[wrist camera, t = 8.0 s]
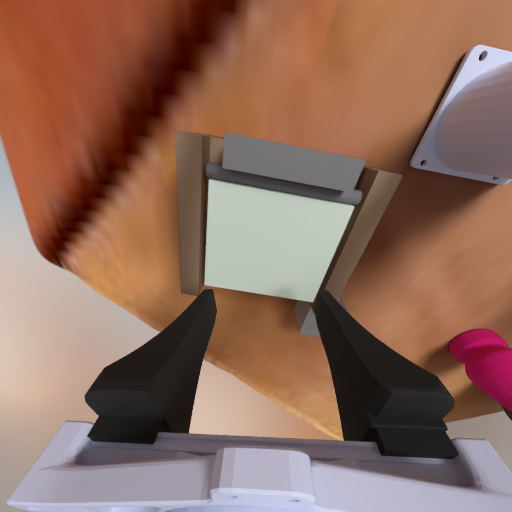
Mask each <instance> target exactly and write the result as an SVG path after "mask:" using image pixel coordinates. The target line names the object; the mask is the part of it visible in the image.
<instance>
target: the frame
mask: <svg viewBox="0 0 512 512" xmlns="http://www.w3.org/2000/svg"><path fill="white" fill-rule="evenodd" d="M175 137H176V165H177V192H178V219H179V247H180V274H181V293H184V294H190V295H196V296H199V294H200V291H201V289H202V287H203V284H204V282H205V259H206V244H205V220H206V194H207V176H206V167H207V163H208V162H212V163H217V164H223V151H224V138H222V137H217V136H212V135H207V134H199V133H190V132H182V131H175ZM402 177H403V175H400V174H396V173H391V172H387V171H383V170H379V169H375V168H371V167H367V166H363V168H362V171H361V173H360V176H359V178H358V181H357V183H356V185H355V188H354V190H359V191H362V198H361V201H360V202H359V204H358V205H356V206H355V205H353V206H354V210H353V212H352V214H351V217H350V219H349V221H348V224H347V226H346V228H345V230H344V233H343V235H342V237H341V240H340V242H339V244H338V246H337V249H336V251H335V253H334V256H333V258H332V260H331V263H330V265H329V267H328V269H327V272H326V274H325V276H324V279H323V281H322V283H321V285H320V288H319V290H328V291H329V292H330V293H331V295H332V296H333V297H334V298H335V299H336V300H337V301H338V300H339V298H340V296H341V294H342V292H343V290H344V288H345V286H346V284H347V282H348V280H349V278H350V277H351V275H352V273H353V271H354V269H355V267H356V265H357V263H358V261H359V259H360V257H361V256H362V254H363V252H364V250H365V248H366V246H367V244H368V242H369V240H370V238H371V236H372V234H373V233H374V231H375V229H376V227H377V225H378V223H379V221H380V219H381V217H382V215H383V213H384V211H385V210H386V208H387V206H388V204H389V202H390V200H391V198H392V196H393V194H394V192H395V190H396V188H397V187H398V185H399V183H400V181H401V179H402ZM317 294H318V292H317ZM316 300H317V295H316V297H315V299H314V302H310V303H311V306H312V310H313V313H314V314H315V306H316Z"/></svg>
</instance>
